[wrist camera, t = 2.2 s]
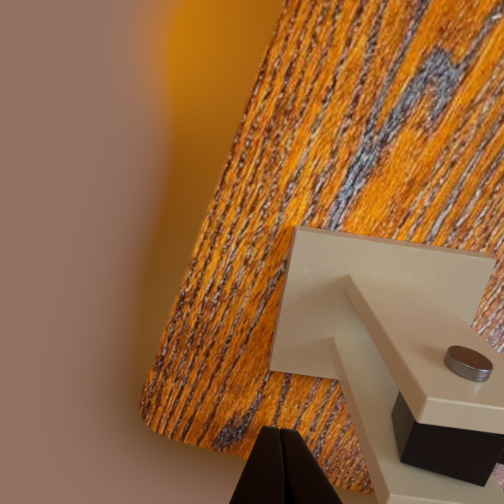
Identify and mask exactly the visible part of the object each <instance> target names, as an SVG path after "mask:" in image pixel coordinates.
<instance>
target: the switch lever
mask: <svg viewBox="0 0 504 504" xmlns="http://www.w3.org/2000/svg"><path fill="white" fill-rule="evenodd" d="M391 417H392V422H393V427H394V432H395V437H396V442H397V448H398V453H399V458H400V462H401V463H403V464H407V465H410V466H413V467H417V468H420V469H423V470H427V471H430V472H434V473H437V474H440V475H444V476H447V477H450V478H454V479H457V480H460V481H464V482H467V483H470V484H474V485H477V486H480V487H485V485H486V483H487V481H488V479H489V477H490V475H491V473H492V471H493V469H494V467H495V465H496V463H499V464H503V465H504V434H496V433H489V432H481V431H474V430H466V429H459V428H451V427H444V426H436V425H429V424H421V423H418V422H417V421H416V420H415V418H414V416H413V414H412V412H411V411H410V409H409V407H408V405H407V403H406V401H405V400H404V398H403V396H402V394H401V392H400V390H399V393H398V396H397V399H396V402H395V405H394V408H393V410H392V413H391Z"/></svg>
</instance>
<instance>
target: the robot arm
mask: <svg viewBox="0 0 504 504" xmlns="http://www.w3.org/2000/svg"><path fill="white" fill-rule="evenodd" d="M229 504H343V503H342V502H341V500H340V498H339V497H338V495H337V494H336V492H335V490H334V489H333V487H332V485H331V484H330V482H329V480H328V479H327V477H326V476H325V474H324V472H323V471H322V469H321V467H320V466H319V464H318V463H317V461H316V459H315V458H314V456H313V454H312V453H311V451H310V450H309V448H308V446H307V445H306V443H305V441H304V440H303V438H302V437H301V435H300V433H299V432H298V431H297V430H294V429H286V428H281V429H280V430H279V428H277V427H271V426H262V428H261V430H260V432H259V434H258V437H257V439H256V442H255V444H254V446H253V449H252V451H251V453H250V456H249V458H248V460H247V463H246V465H245V467H244V470H243V472H242V474H241V477H240V479H239V482H238V484H237V486H236V489H235V491H234V493H233V496H232V498H231V500H230V503H229Z"/></svg>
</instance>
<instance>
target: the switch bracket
mask: <svg viewBox="0 0 504 504" xmlns="http://www.w3.org/2000/svg"><path fill="white" fill-rule="evenodd" d="M495 263H496V259H494V258H492V257H490V256H488V255H486V254H485V253H480V252H474V251H467V250H460V249H453V248H447V247H440V246H433V245H426V244H420V243H413V242H406V241H399V240H393V239H386V238H379V237H373V236H366V235H359V234H352V233H346V232H339V231H332V230H325V229H319V228H312V227H305V226H299V225H294V229H293V234H292V239H291V245H290V250H289V255H288V260H287V265H286V271H285V276H284V281H283V286H282V291H281V297H280V302H279V307H278V312H277V318H276V323H275V328H274V333H273V338H272V344H271V349H270V354H269V370H271V371H278V372H285V373H293V374H300V375H307V376H315V377H322V378H329V379H337V380H339V382H340V385H341V388H342V391H343V395H344V398H345V401H346V404H347V407H348V410H349V413H350V416H351V420H352V423H353V426H354V429H355V432H356V435H357V438H358V441H359V445H360V448H361V451H362V454H363V457H364V460H365V463H366V466H367V470H368V473H369V476H370V479H371V482H372V485H373V488H374V491H375V495H376V498H377V501H378V504H504V491H503V489H502V488H501V486H500V485H499V483H498V482H497V481H496V479H495V478H494V476H493V475H492V473H491V475H490V477H489V479H488V481H487V483H486V485H485V487H480V486H477V485H474V484H470V483H467V482H464V481H460V480H457V479H454V478H450V477H447V476H444V475H440V474H437V473H434V472H430V471H427V470H423V469H420V468H417V467H413V466H410V465H407V464H403V463H401V462H400V458H399V453H398V448H397V442H396V437H395V432H394V427H393V422H392V417H391V413H392V410H393V408H394V405H395V402H396V399H397V396H398V393H399V390H400V392H401V394H402V396H403V398H404V400H405V401H406V403H407V405H408V407H409V409H410V411H411V412H412V414H413V416H414V418H415V420H416V421H417V422H418V423H421V424H429V425H436V426H444V427H451V428H459V429H466V430H474V431H481V432H489V433H496V434H504V357H503V356H501V355H500V354H499V353H498V352H497V351H496V350H495V349H494V348H493V347H492V346H491V345H490V344H489V343H487V342H486V341H485V340H484V339H483V338H482V337H481V336H480V335H479V334H478V333H477V332H476V331H474V330H473V329H472V328H471V327H470V326H471V324H472V321H473V319H474V316H475V314H476V311H477V309H478V306H479V304H480V301H481V299H482V296H483V294H484V291H485V288H486V286H487V283H488V281H489V278H490V276H491V273H492V271H493V268H494V266H495Z"/></svg>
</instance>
